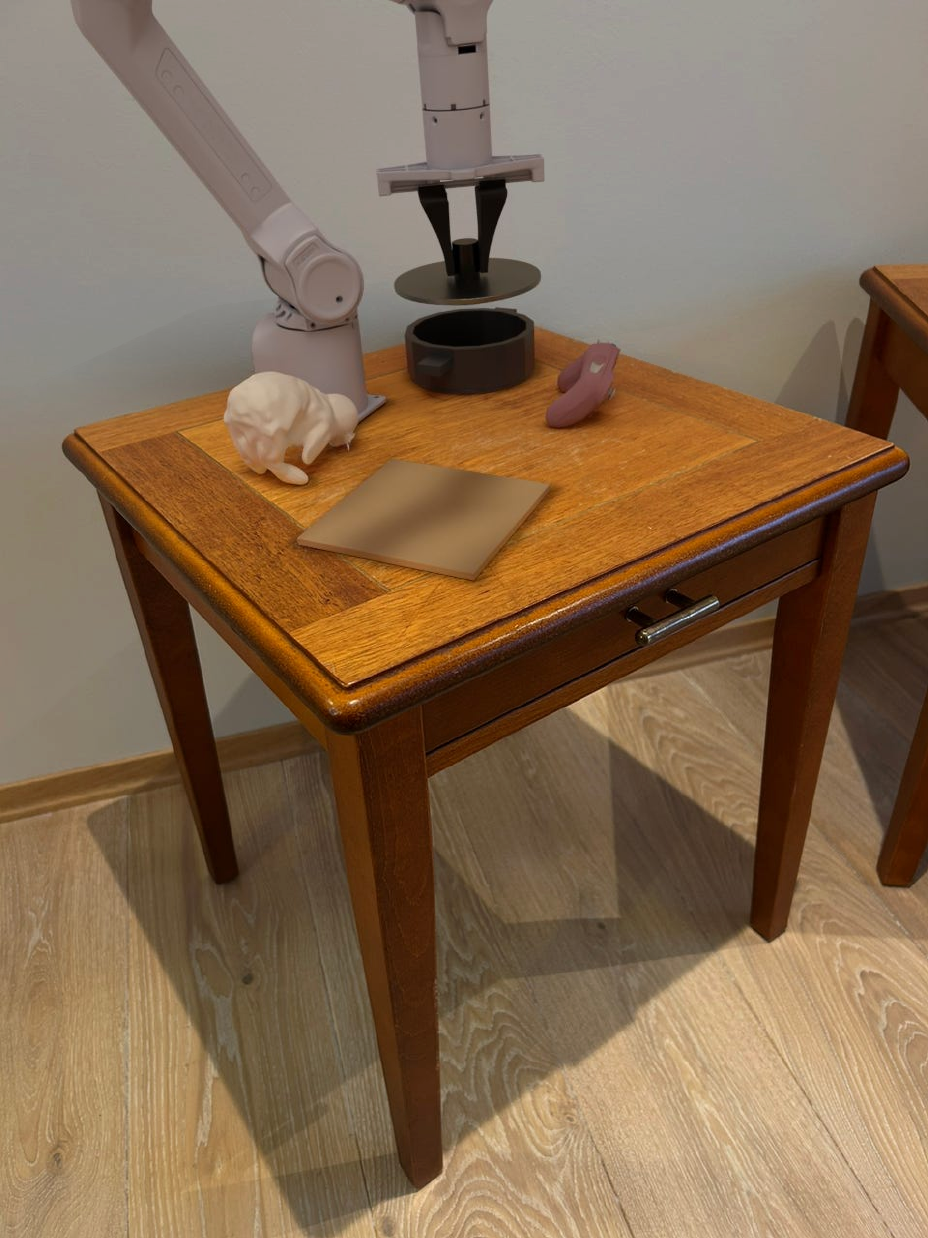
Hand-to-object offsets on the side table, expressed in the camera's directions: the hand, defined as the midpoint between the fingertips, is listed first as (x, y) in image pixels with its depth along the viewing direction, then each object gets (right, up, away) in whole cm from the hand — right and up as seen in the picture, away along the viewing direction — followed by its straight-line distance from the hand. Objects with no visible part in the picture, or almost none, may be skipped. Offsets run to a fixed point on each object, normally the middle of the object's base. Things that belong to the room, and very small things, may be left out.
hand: (466, 271), depth 89 cm
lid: (0, -1, +1) cm, 1 cm away
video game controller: (+11, -13, -2) cm, 17 cm away
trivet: (-3, -24, -17) cm, 30 cm away
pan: (0, -7, +8) cm, 11 cm away
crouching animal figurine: (-13, -19, -8) cm, 25 cm away
